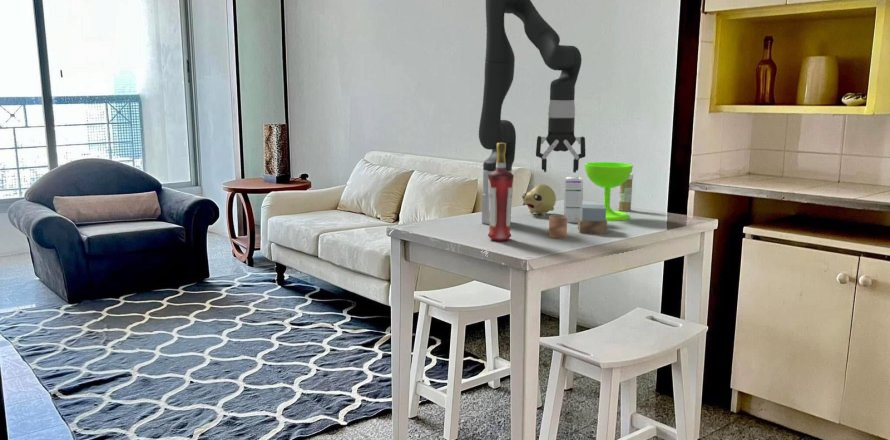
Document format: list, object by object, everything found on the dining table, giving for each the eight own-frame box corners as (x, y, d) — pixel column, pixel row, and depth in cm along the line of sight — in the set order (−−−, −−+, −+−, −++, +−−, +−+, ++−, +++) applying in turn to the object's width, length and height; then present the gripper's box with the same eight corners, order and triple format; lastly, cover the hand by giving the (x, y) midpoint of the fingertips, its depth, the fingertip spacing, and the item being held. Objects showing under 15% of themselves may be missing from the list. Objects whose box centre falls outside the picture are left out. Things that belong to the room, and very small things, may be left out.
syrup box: (581, 223, 239) (583, 179, 236) (563, 222, 240) (564, 178, 237) (581, 220, 244) (583, 176, 241) (564, 219, 245) (565, 176, 243)
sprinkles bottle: (616, 209, 265) (618, 172, 263) (628, 209, 266) (630, 172, 263) (620, 211, 261) (622, 174, 258) (633, 211, 261) (635, 174, 259)
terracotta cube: (549, 238, 215) (549, 218, 214) (548, 234, 220) (549, 215, 219) (566, 238, 214) (567, 218, 213) (565, 235, 219) (566, 215, 218)
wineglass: (632, 221, 241) (635, 167, 238) (583, 220, 244) (585, 166, 241) (628, 213, 257) (630, 162, 254) (582, 212, 259) (584, 161, 256)
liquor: (485, 237, 215) (486, 142, 210) (510, 236, 216) (512, 142, 211) (488, 242, 208) (490, 144, 203) (514, 242, 209) (516, 144, 204)
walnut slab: (579, 234, 222) (580, 221, 222) (577, 229, 230) (578, 216, 229) (606, 234, 222) (606, 221, 221) (603, 229, 229) (604, 217, 229)
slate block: (582, 220, 222) (582, 208, 221) (580, 216, 229) (581, 204, 228) (605, 221, 221) (606, 208, 220) (603, 217, 228) (603, 204, 227)
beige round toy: (516, 214, 253) (517, 184, 251) (538, 210, 261) (539, 181, 259) (539, 218, 246) (540, 187, 244) (560, 214, 255) (561, 184, 253)
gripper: (536, 116, 208) (535, 173, 211) (587, 116, 206) (585, 173, 209) (536, 115, 215) (535, 170, 218) (585, 115, 214) (583, 171, 217)
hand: (559, 171), depth 214 cm, fingers open, 8 cm apart
